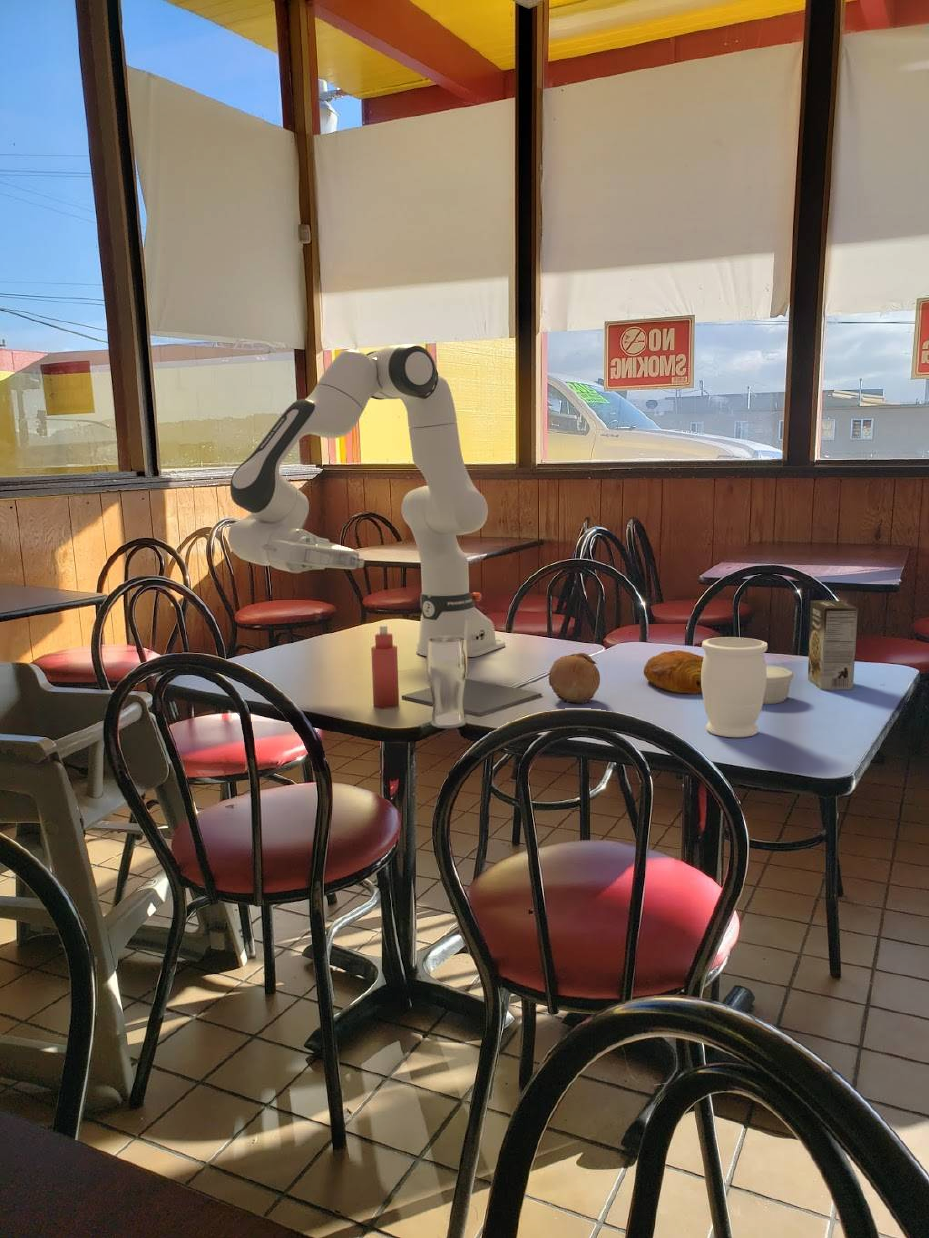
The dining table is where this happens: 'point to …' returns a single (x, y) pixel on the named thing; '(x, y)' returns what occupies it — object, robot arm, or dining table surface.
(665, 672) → the croissant
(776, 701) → the ramekin
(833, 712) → the dining table surface
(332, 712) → the dining table surface
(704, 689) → the jar
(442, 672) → the beer glass
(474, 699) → the mat
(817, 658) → the coffee box
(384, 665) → the bottle
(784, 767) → the dining table surface
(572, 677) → the brown round fruit
